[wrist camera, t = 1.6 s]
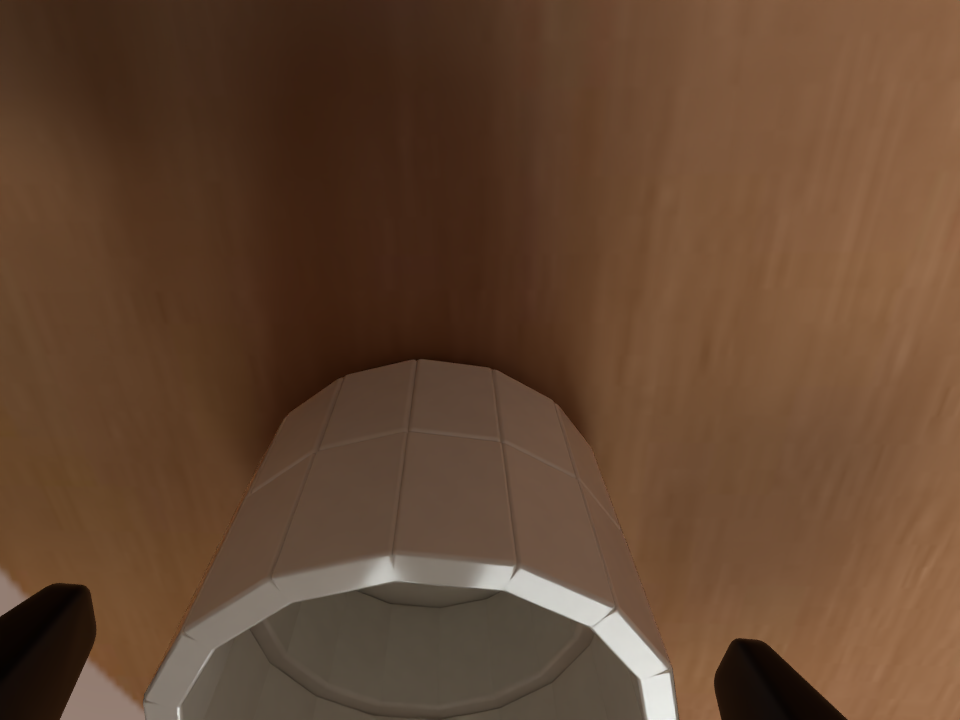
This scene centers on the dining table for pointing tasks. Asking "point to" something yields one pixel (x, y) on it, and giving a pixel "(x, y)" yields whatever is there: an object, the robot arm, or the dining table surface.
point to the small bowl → (420, 568)
